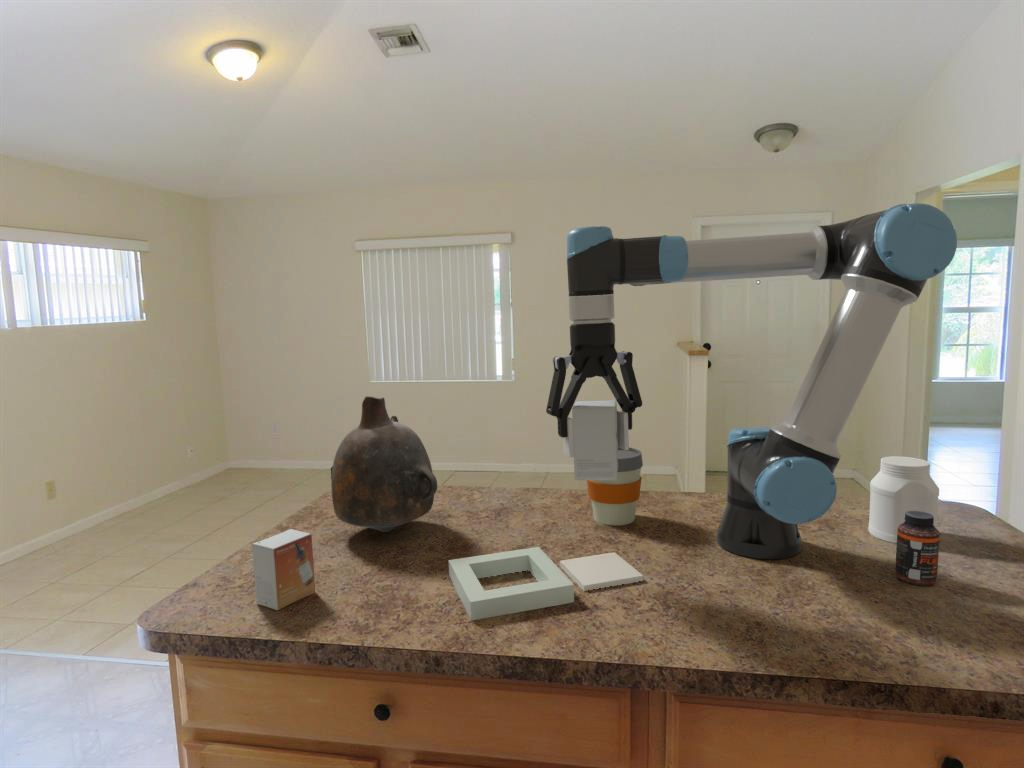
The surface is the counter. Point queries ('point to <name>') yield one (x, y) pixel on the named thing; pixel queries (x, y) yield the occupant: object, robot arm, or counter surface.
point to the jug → (381, 472)
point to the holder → (514, 598)
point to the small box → (283, 569)
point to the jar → (900, 495)
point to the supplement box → (595, 440)
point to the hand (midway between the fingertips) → (596, 451)
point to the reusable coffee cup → (618, 491)
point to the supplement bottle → (917, 549)
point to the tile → (600, 571)
